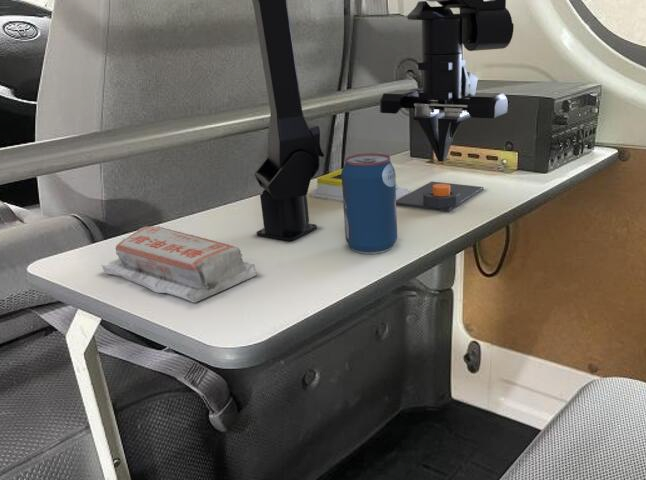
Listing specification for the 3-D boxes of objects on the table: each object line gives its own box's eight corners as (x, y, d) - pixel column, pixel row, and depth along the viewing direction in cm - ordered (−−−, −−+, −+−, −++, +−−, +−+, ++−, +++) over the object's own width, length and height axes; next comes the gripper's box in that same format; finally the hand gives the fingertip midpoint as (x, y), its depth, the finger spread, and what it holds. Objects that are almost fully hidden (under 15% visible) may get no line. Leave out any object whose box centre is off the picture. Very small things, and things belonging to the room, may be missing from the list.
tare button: (445, 198, 98) (445, 188, 97) (429, 196, 99) (429, 187, 99) (453, 194, 100) (453, 184, 99) (437, 192, 101) (437, 182, 101)
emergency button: (338, 159, 114) (409, 167, 107) (340, 183, 116) (410, 192, 109) (306, 170, 107) (379, 180, 100) (308, 195, 109) (380, 206, 102)
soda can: (408, 245, 85) (406, 156, 80) (370, 260, 80) (365, 166, 75) (373, 234, 89) (369, 149, 84) (335, 247, 85) (329, 159, 80)
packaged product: (255, 239, 75) (187, 266, 68) (260, 276, 77) (194, 306, 70) (161, 216, 85) (93, 238, 77) (168, 250, 87) (102, 274, 79)
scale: (450, 213, 97) (450, 199, 96) (391, 205, 102) (391, 192, 101) (485, 190, 108) (485, 177, 107) (431, 184, 113) (431, 172, 112)
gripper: (523, 48, 93) (517, 155, 99) (411, 49, 101) (413, 146, 108) (495, 55, 84) (491, 171, 91) (375, 55, 93) (380, 160, 99)
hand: (441, 161), depth 97 cm, fingers closed
